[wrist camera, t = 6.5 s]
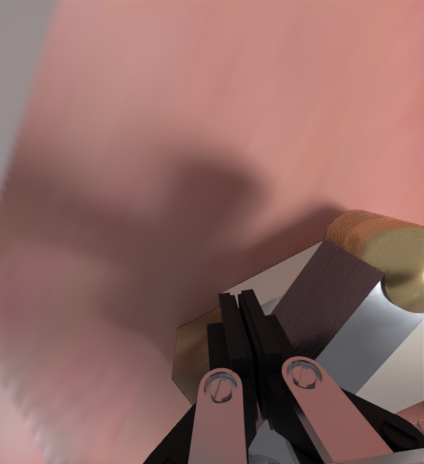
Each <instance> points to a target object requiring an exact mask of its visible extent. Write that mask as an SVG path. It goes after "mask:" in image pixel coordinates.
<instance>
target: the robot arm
mask: <svg viewBox="0 0 424 464" xmlns="http://www.w3.org/2000/svg"><path fill="white" fill-rule="evenodd" d="M219 302H220V310H221V318H222V322H217V323H210V324H207V339H208V353H209V367H210V371H209V372H208V373H207V374H206V375H205V376H204V377H203V378H202V380H201V382H200V385H199V391H198V398H197V402H196V403H195V404H194V405H193V406H192V407H191V408H190V410H189V411H188V412H187V413H186V414H185V415H184V416H183V418H182V419H181V420H180V421H179V422H178V423H177V424H176V426H175V427H174V428H173V429H172V430H171V431H170V432H169V434H168V435H167V436H166V437H165V438H164V439H163V440H162V442H161V443H160V444H159V445H158V446H157V447H156V448H155V450H154V451H153V452H152V453H151V454H150V455H149V456H148V458H147V459H146V460H145V462H144V463H143V464H250V458H249V447H250V445H251V443H252V442H253V440H254V438H255V436H256V435H257V430H256V421H258V409H257V402H258V406H259V410H260V413H261V417H262V420H268V423H269V427H270V430H275V432H277V433H278V434H279V435H281V436H282V437H284V438H285V443H286V446H287V449H288V451H289V453H290V455H291V457H292V460H293V462H294V464H424V422H422V421H418V423H417V425H413V424H411V423H410V422H408V421H407V420H405V419H403V418H402V417H400V416H398V415H396V414H394V413H392V412H390V411H388V410H385V409H383V408H381V407H379V406H377V405H375V404H373V403H371V402H369V401H367V400H365V399H363V398H361V397H359V396H357V395H355V394H353V393H350V392H348V391H346V390H344V389H342V388H340V387H339V386H338V385H337V384H336V383H335V381H334V380H333V379H332V378H331V377H330V375H329V374H328V373H327V372H326V371H325V369H324V368H323V367H322V366H321V365H320V364H319V363H317V362H316V361H314V360H312V359H310V358H307V357H301V356H297V354H296V352H295V350H294V348H293V346H292V344H291V343H290V341H289V339H288V337H287V335H286V333H285V331H284V329H283V328H282V326H281V324H280V322H279V320H278V318H277V317H276V315H275V314H272V315H265V314H264V312H263V310H262V308H261V306H260V303H259V301H258V299H257V297H256V295H255V293H254V290H253V289H249V290H242V291H241V294H238V305H239V308H238V305H237V301H236V298H235V295H230V292H227V293H220V294H219Z"/></svg>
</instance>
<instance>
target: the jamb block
mask: <svg viewBox="0 0 424 464" xmlns="http://www.w3.org/2000/svg"><path fill="white" fill-rule="evenodd" d="M217 322H222V318H221V310H220V307H218V308H216V309H215V310H213V311H211V312H209V313H207V314H205V315H203V316H201V317H199V318H197V319H195V320H193V321H191V322H189V323H187V324H185V325H183V326H181V327H179V328H178V329H177V337H176V346H175V355H174V363H173V372H172V380H173V382H174V383H175V384H176V385H177V387H178V388H179V389H180V390H181V392H182V393H183V394H184V395H185V397H186V398H187V399H188V401H189V402H190V403H191V404H192V406H193V405H194V404H195V403H196V402H197V398H198V391H199V385H200V382H201V380H202V378H203V377H204V376H205V375H206V374H207V373H208V372H209V371H210V367H209V353H208V339H207V324H210V323H217Z"/></svg>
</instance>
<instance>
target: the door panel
mask: <svg viewBox="0 0 424 464" xmlns="http://www.w3.org/2000/svg"><path fill="white" fill-rule="evenodd" d="M322 242H323V241H321V242H319V243H317V244H315V245H313V246H312V247H310V248H308V249H306V250H304V251H302V252H300V253H298V254H296V255H294V256H292V257H290V258H288V259H286V260H284V261H283V262H281V263H279V264H277V265H275V266H273V267H271V268H269V269H267V270H265V271H263V272H261V273H259V274H257V275H256V276H254V277H252V278H250V279H248V280H246V281H244V282H242V283H240V284H238V285H236V286H234V287H232V288H230V289H228V290H227V291H225V292H223V293H227V292H230V295H235V298H236V301H237V305H238V294H241V291H242V290H249V289H253V290H254V293H255V295H256V297H257V299H258V301H259V303H260V306H261V308H262V310H263V312H264V314H265V315H270V314H271V312H272V311H273V309H274V308H275V307H276V305H277V304H278V302H279V301H280V300H281V298H282V297H283V296H284V294H285V293H286V291H287V290H288V289H289V287H290V286H291V285H292V283H293V282H294V280H295V279H296V278H297V276H298V275H299V273H300V272H301V271H302V269H303V268H304V267H305V265H306V264H307V262H308V261H309V260H310V258H311V257H312V255H313V254H314V253H315V251H316V250H317V249H318V247H319V246H320V244H321V243H322ZM238 308H239V305H238ZM355 395H357V396H359V397H361V398H363V399H365V400H367V401H369V402H371V403H373V404H375V405H377V406H379V407H381V408H383V409H385V410H388V411H390V412H392V413H394V414H395V413H397V412H399V411H401V410H404V409H406V408H408V407H410V406H413V405H415V404H417V403H419V402H422V401H424V319H423V320H422V322H421V323H420V324H419V325H418V326H417V327H416V328H415V329H414V330H413V331H412V333H411V334H410V335H409V336H408V337H407V338H406V339H405V340H404V341H403V343H402V344H401V345H400V346H399V347H398V348H397V349H396V350H395V351H394V352H393V354H392V355H391V356H390V357H389V358H388V359H387V360H386V361H385V362H384V363H383V365H382V366H381V367H380V368H379V369H378V370H377V371H376V372H375V373H374V375H373V376H372V377H371V378H370V379H369V380H368V381H367V382H366V383H365V384H364V386H363V387H362V388H361V389H360V390H359V391H358V392H357V393H356V394H355Z"/></svg>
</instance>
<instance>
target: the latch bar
mask: <svg viewBox="0 0 424 464" xmlns="http://www.w3.org/2000/svg"><path fill="white" fill-rule="evenodd" d="M272 314H275V315H276V317H277V318H278V320H279V322H280V324H281V326H282V328H283V329H284V331H285V333H286V335H287V337H288V339H289V341H290V343H291V344H292V346H293V348H294V350H295V352H296V354H297V356H301V357H307V358H310V359H312V360H314V361H316V362H317V363H319V364H320V365H321V366H322V367H323V368H324V369H325V371H326V372H327V373H328V374H329V375H330V377H331V378H332V379H333V380H334V381H335V383H336V384H337V385H338V386H339V387H340V388H342V389H344V390H346V391H348V392H350V393H353V394H356V393H357V392H358V391H359V390H360V389H361V388H362V387H363V386H364V384H365V383H366V382H367V381H368V380H369V379H370V378H371V377H372V376H373V375H374V373H375V372H376V371H377V370H378V369H379V368H380V367H381V366H382V365H383V363H384V362H385V361H386V360H387V359H388V358H389V357H390V356H391V355H392V354H393V352H394V351H395V350H396V349H397V348H398V347H399V346H400V345H401V344H402V343H403V341H404V340H405V339H406V338H407V337H408V336H409V335H410V334H411V333H412V331H413V330H414V329H415V328H416V327H417V326H418V325H419V324H420V323H421V322H422V320H423V319H424V226H421V225H417V224H413V223H410V222H406V221H402V220H398V219H395V218H391V217H387V216H383V215H380V214H376V213H372V212H369V211H365V210H351V211H348V212H345V213H343V214H342V215H340V216H339V217H337V218H336V219H335V220H334V221H333V222H332V223H331V225H330V226H329V228H328V230H327V232H326V235H325V239H324V240H323V242H322V243H321V244H320V246H319V247H318V249H317V250H316V251H315V253H314V254H313V255H312V257H311V258H310V260H309V261H308V262H307V264H306V265H305V267H304V268H303V269H302V271H301V272H300V273H299V275H298V276H297V278H296V279H295V280H294V282H293V283H292V285H291V286H290V287H289V289H288V290H287V291H286V293H285V294H284V296H283V297H282V298H281V300H280V301H279V302H278V304H277V305H276V307H275V308H274V309H273V311H272V312H271V314H270V315H272ZM257 409H258V421H256V430H257V435H256V436H255V438H254V440H253V442H252V443H251V445H250V447H249V458H250V464H293V463H294V462H293V460H292V457H291V455H290V453H289V451H288V449H287V446H286V443H285V438H284V437H282V436H281V435H279V434H278V433H277V432H275V430H270V427H269V423H268V420H262V417H261V413H260V410H259V406H258V402H257Z"/></svg>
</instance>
